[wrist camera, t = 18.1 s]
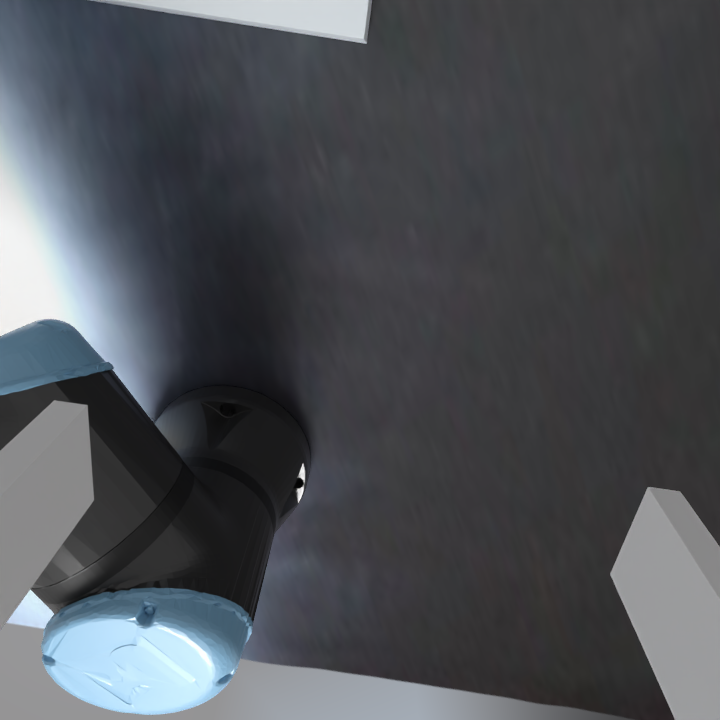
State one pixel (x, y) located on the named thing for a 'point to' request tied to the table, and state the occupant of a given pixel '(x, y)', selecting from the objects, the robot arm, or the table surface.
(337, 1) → the keyhole plate
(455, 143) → the table surface
